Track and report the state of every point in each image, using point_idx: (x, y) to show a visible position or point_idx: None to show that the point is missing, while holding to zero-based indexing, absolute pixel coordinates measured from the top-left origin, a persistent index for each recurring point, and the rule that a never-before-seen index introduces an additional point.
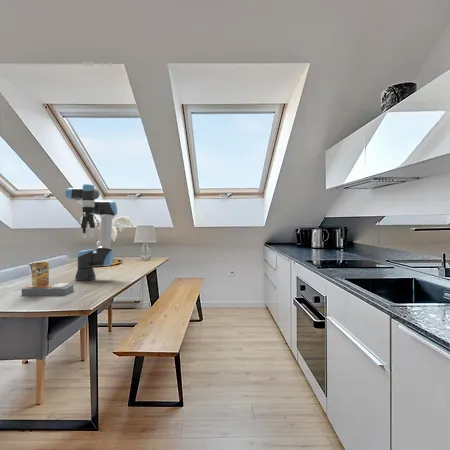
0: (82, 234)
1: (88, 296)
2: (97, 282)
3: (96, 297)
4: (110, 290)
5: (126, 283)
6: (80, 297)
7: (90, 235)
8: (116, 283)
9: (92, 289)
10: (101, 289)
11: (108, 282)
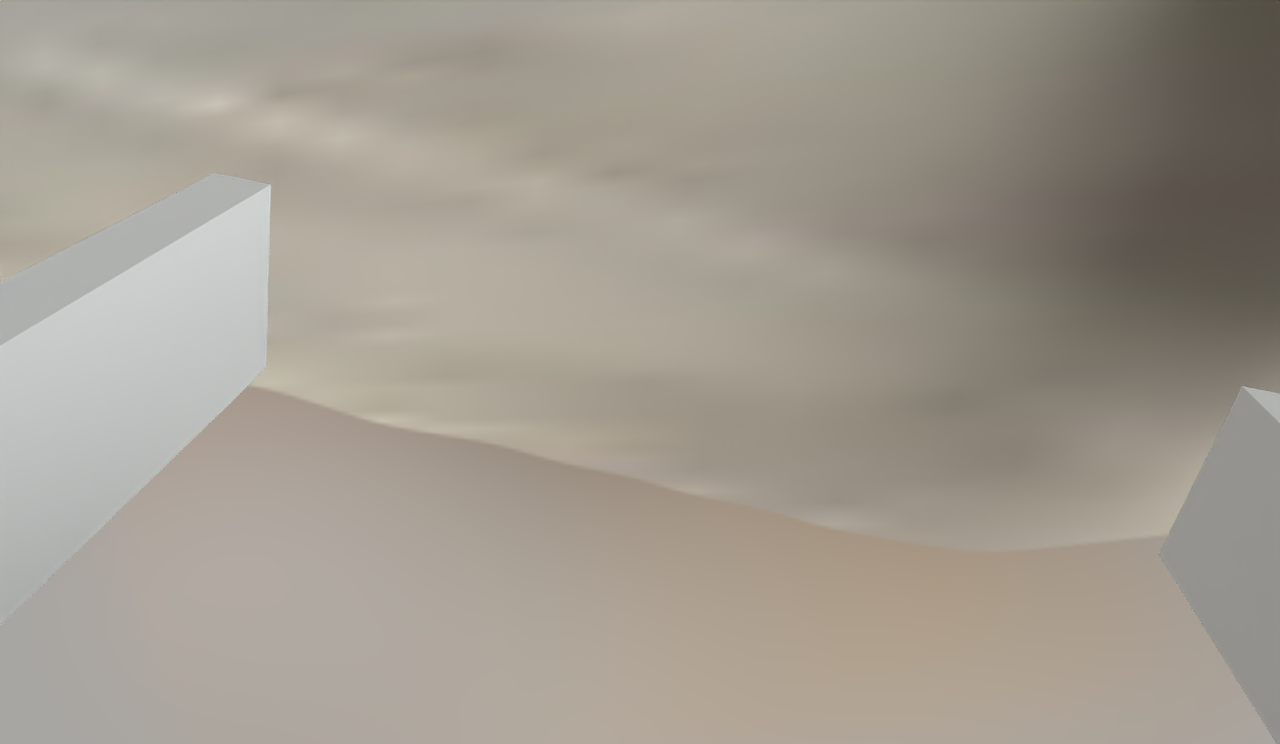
0: (112, 228)
1: (150, 134)
2: (1235, 138)
3: None
4: (504, 360)
5: (976, 535)
6: (90, 42)
7: (1252, 484)
8: (1023, 416)
9: (611, 128)
10: (590, 249)
11: (1161, 306)
